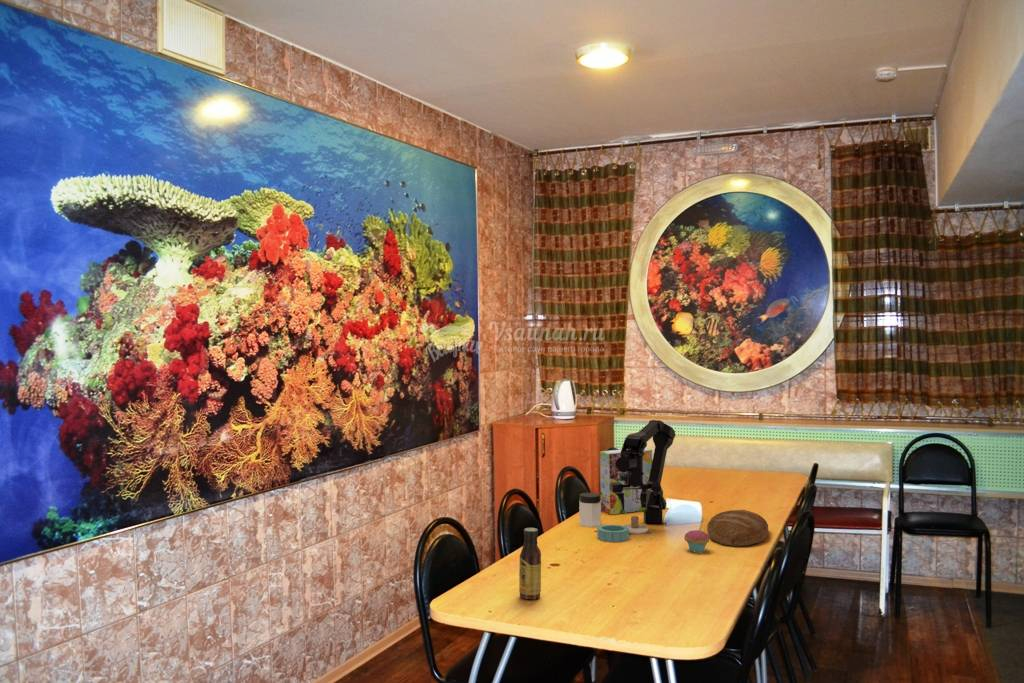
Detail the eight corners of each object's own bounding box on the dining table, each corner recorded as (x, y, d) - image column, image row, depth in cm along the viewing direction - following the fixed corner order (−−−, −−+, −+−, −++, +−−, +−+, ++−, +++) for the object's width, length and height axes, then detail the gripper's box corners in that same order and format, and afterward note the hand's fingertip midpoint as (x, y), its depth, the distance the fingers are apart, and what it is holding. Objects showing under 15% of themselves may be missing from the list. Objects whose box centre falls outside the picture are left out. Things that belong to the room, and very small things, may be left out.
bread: (771, 527, 332) (771, 505, 332) (764, 550, 298) (765, 526, 297) (714, 522, 340) (714, 501, 340) (701, 545, 305) (701, 521, 305)
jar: (587, 528, 327) (587, 497, 327) (574, 524, 334) (574, 494, 334) (605, 525, 332) (605, 495, 332) (592, 521, 339) (592, 491, 339)
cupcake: (710, 549, 299) (710, 514, 298) (707, 555, 291) (708, 520, 290) (685, 546, 302) (686, 513, 301) (682, 552, 294) (682, 518, 293)
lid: (643, 527, 329) (643, 513, 329) (651, 533, 319) (651, 519, 319) (618, 527, 327) (618, 514, 327) (625, 534, 317) (625, 520, 317)
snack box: (642, 506, 368) (642, 447, 367) (653, 510, 360) (654, 449, 359) (598, 511, 358) (599, 450, 358) (610, 515, 350) (610, 453, 350)
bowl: (623, 534, 318) (623, 524, 318) (631, 542, 307) (631, 531, 307) (594, 535, 317) (594, 525, 316) (601, 543, 305) (601, 532, 305)
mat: (643, 528, 329) (643, 527, 329) (651, 534, 319) (651, 533, 319) (618, 528, 327) (618, 527, 327) (625, 535, 317) (625, 534, 317)
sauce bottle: (518, 594, 248) (518, 526, 248) (539, 593, 249) (539, 525, 248) (520, 601, 242) (520, 531, 241) (542, 601, 242) (542, 531, 242)
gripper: (652, 464, 332) (652, 504, 332) (606, 465, 329) (605, 505, 330) (661, 469, 321) (661, 510, 321) (613, 470, 318) (612, 512, 319)
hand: (635, 509), depth 323 cm, fingers open, 9 cm apart
